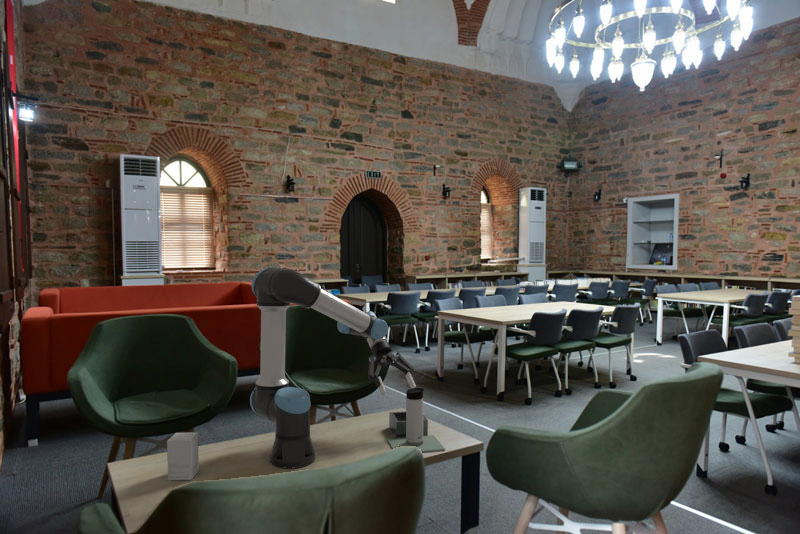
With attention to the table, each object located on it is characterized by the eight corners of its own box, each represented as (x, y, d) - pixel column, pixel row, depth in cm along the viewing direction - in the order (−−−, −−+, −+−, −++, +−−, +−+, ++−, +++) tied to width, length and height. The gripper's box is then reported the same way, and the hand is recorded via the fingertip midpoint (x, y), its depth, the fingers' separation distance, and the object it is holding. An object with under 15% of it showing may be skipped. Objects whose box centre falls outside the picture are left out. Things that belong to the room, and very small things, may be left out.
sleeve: (396, 438, 198) (396, 422, 198) (389, 427, 210) (389, 412, 210) (427, 435, 201) (427, 420, 201) (419, 424, 213) (419, 410, 213)
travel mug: (424, 445, 189) (424, 390, 188) (406, 445, 189) (406, 390, 188) (423, 439, 195) (424, 386, 194) (406, 439, 195) (406, 386, 195)
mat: (395, 455, 182) (395, 453, 182) (387, 440, 196) (387, 439, 196) (445, 450, 186) (445, 448, 186) (433, 436, 200) (433, 435, 200)
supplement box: (199, 470, 169) (199, 431, 168) (191, 480, 161) (190, 440, 161) (176, 470, 168) (175, 432, 168) (166, 480, 161) (166, 440, 161)
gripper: (401, 347, 221) (421, 391, 209) (348, 354, 207) (367, 400, 195) (408, 337, 216) (429, 380, 204) (355, 342, 203) (374, 389, 191)
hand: (399, 390), depth 200 cm, fingers open, 13 cm apart
